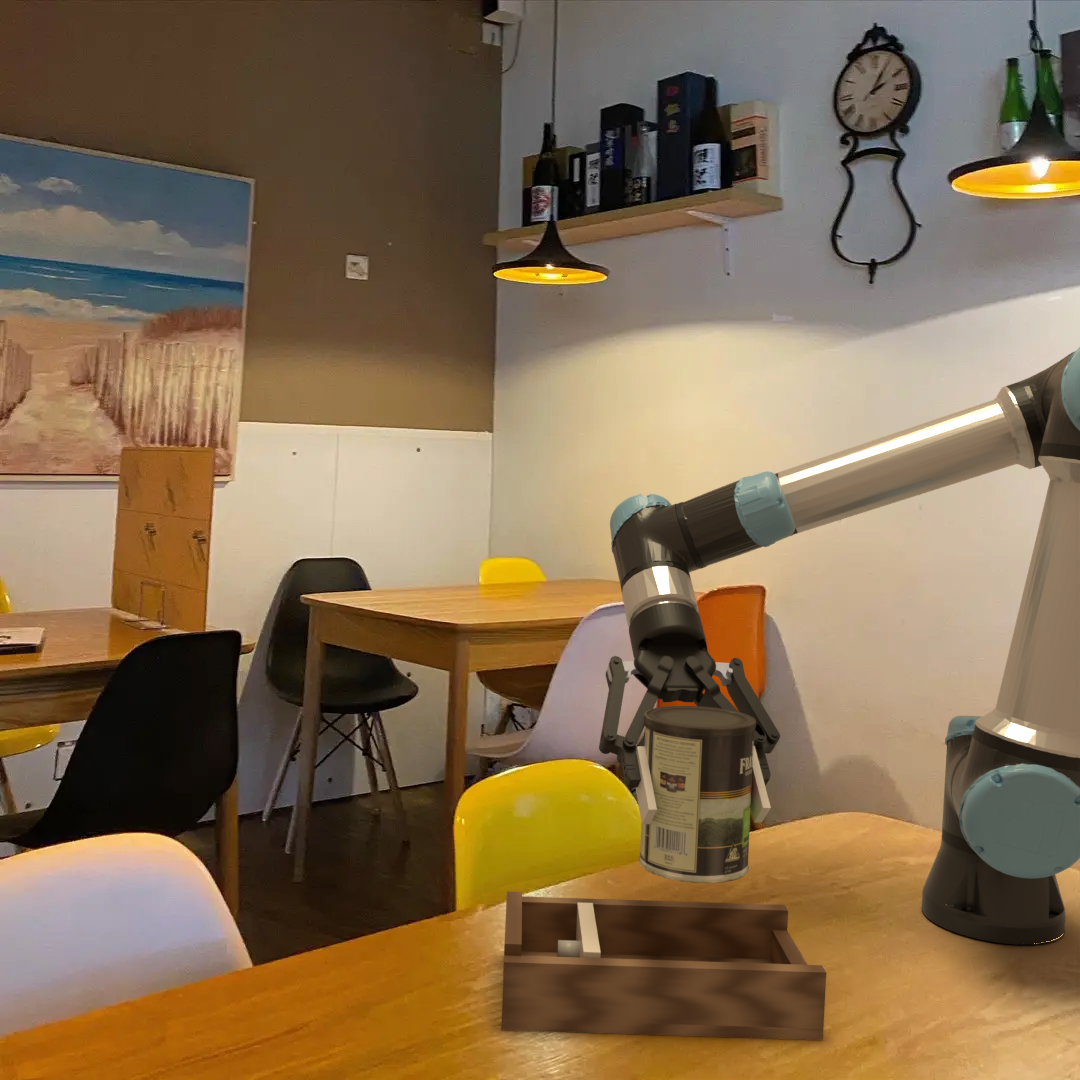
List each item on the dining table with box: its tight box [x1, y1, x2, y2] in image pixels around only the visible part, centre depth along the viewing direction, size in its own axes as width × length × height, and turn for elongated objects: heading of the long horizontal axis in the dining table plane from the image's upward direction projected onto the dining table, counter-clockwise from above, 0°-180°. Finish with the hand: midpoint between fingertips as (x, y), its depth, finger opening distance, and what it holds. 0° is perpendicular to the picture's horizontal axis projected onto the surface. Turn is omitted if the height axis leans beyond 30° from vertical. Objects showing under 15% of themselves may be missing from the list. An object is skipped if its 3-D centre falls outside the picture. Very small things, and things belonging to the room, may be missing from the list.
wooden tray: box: [500, 891, 827, 1041], centre depth 107 cm, size 28×16×7 cm, turn 91°
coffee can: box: [638, 705, 756, 884], centre depth 107 cm, size 10×10×14 cm
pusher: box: [557, 903, 601, 958], centre depth 107 cm, size 4×12×5 cm, turn 1°
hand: (706, 816), depth 104 cm, fingers closed on coffee can, 10 cm apart
